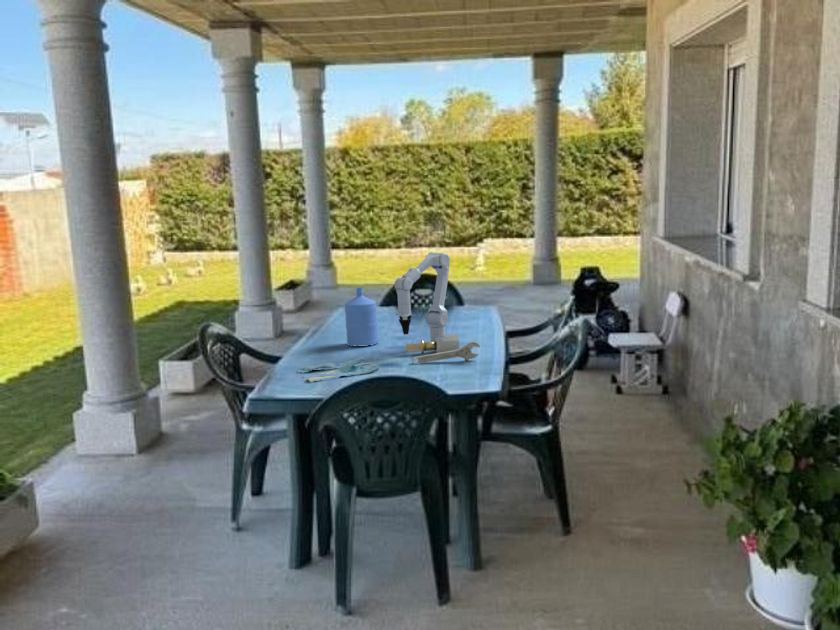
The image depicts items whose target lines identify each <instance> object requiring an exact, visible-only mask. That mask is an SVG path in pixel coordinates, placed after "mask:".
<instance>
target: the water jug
mask: <svg viewBox="0 0 840 630" xmlns="http://www.w3.org/2000/svg"><path fill="white" fill-rule="evenodd" d="M355 290H356V292H355V293H356V297H354V298H352V299H350V300H348V301H346V302H345V303H344V313H345V330H346V344H347V343H348V344H349V345H356V346H359V345H371V344H375V343H377V344H379V342H380V341H379V339H380V338H379V331H378V330H379V328H378V326H379V325H378V317H377V315H378V314H377V313H378V312H377V302H376V301H375V300H374V299H371V298H368V297H367V296H364V293H363V292H364V291H363V287H356V288H355ZM348 344H347V345H348ZM349 345H348V346H349Z"/></svg>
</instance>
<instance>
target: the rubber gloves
mask: <svg viewBox="0 0 840 630" xmlns="http://www.w3.org/2000/svg"><path fill="white" fill-rule="evenodd" d="M363 360H365V357H363V356H360V357H357V358H355V359H351V360H348V361H349V362H347V361H346V362H347V363H345V364H344V365H341V367H340V368H339V369H332V370H328V371H325V372H319V374H324V373H326V374H330V373H334V374H339V373H348V372H354V373H355V374H348V375H358V376H361V375H360V374H363V375H367V374H369V373H374V372H376V371H379V370H380V367H379V366H378V365H379V364H377V363H374V364H372V362H364V361H363ZM362 362H364V363H362ZM323 364H326V365H327V366H317V365H323ZM365 364H369V365H365ZM310 365H311V364H309V366H308V365H307V366H308V367H304V366H302V367H300V368H301V369H300V368H298V369H299V370H303V371H310V372H313V371H312V370H314V369H318V368H332V367H334V365H335V364H334V363H332V362H323V363H319V364H315V365H316V366H310ZM354 365H362V366H361V367H359V366H354ZM339 376H346V375H339ZM331 377H336V376H325V377H311V378H307V379H308V380H309V381H314V380H320V379H325V378H331ZM309 381H308V382H309Z"/></svg>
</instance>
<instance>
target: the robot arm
mask: <svg viewBox="0 0 840 630" xmlns="http://www.w3.org/2000/svg"><path fill="white" fill-rule="evenodd" d="M450 262H451V258H450V256H449V254H448V253H446V252H433V251H432V252H429V253H428V254H427V255H425V257H424V259H422V261H421V262H420V263H419V264H418V265H417V266H416V267H411V268H409V269H408V271H407V272H406V273H404V274H402V276H401V277H397V278H396V279H395V281H394V283H393V286H394V288H395V292H396V294H397V310H398V312H397V313H395V315H396V316H399V317H398V318H399V319H398V321H399V323H400V326H401V329H402V333H403V335H409V331H410V324H411V322H412V308H411V293H410V292H411V290H412V288H413V285H414V283H416V282H417V281H418V280H419V279H420V278H421V275H422V273H423V272H425V271H426V270H427V269H429V268H430V267H431V268H432V269H433V270H434V271H435V272H436V281H435V288H434V294H433V301H432V305H431V306H430V307H429V308H428V311H427V313H426V315H425V321H426V322H425V323H427V324H428V326H429V336H430V339H429V340H430V341H431V342H436V335H446V326H447V324H448V321H449V317H448V310H447V309H446V307H445V301H446V294H447V289H448V281H449V274H450V264H451V263H450ZM430 341H429V342H430Z"/></svg>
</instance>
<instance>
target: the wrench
mask: <svg viewBox="0 0 840 630" xmlns="http://www.w3.org/2000/svg"><path fill="white" fill-rule="evenodd" d="M474 347H475V348H481V345H480V344H479V343H478V342H476V341H469V342H467V343H465V345H463V346H461V347H459V349H457V350H453V351H447V352H441V353H437V352H436V353H431V354H430V353H429V354H425V355H424V354H423V355H419V356H414V357H412V359H411V361H412V364H413V365H419V364H418V363H420V364H424V363H428V362H435V361H440V360H447V359H450V358H457V357H458V358H461V359H462V358H463V359H464V361H466V360H467V361H468V362H469V361H470V360H472V359H473V360H474V359H475V358H476V357H479V353H476V352H472V349H473V348H474ZM415 359H417V360H418V361H417V362H414V360H415ZM416 363H417V364H416Z"/></svg>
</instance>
